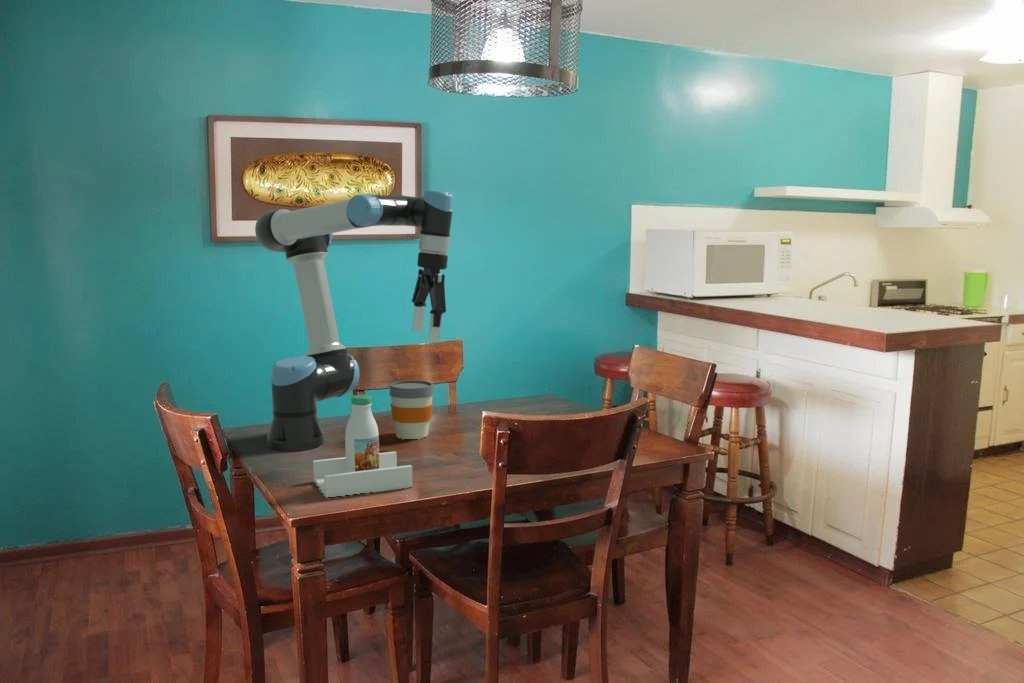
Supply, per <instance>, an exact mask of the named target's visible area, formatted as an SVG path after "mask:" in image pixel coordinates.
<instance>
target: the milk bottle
mask: <svg viewBox="0 0 1024 683" xmlns="http://www.w3.org/2000/svg"><path fill="white" fill-rule="evenodd" d="M350 399H351V400H350V403H351V407H352V410H351V414H350V417H349V419H348V421H347V423H346V427H345V435H344V436H345V440H344V441H345V442H344V443H345V444H344V446H345V448H344V450H345V451H344V452H345V456H344V457H346V473H348V472H356V471H365V470H373V469H379V451H380V438H379V437H380V436H379V434H380V433H379V428H378V424H377V421H376V420H375V417H374V415H373V412H372V409H371V406H372V396H371V395H369V394H355V395H352V396H351V398H350Z"/></svg>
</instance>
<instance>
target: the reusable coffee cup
mask: <svg viewBox="0 0 1024 683" xmlns="http://www.w3.org/2000/svg"><path fill="white" fill-rule="evenodd" d="M434 389H435V388H434V383H433V382H430V381H426V380H418V379H415V380H413V379H412V380H409V379H408V380H398V381H393V382H392V383H390V385H389V396H390V400H391V403H390V409H391V415H392V416H391V417H392V420H393V422H394V428H395V436H396V438H397V437H398V439H400V438H401V440H404V439H418V440H421V438H423V437H426V436H427V435H428V436H429V429H430V422H431V420H432V417H433V415H432V414H433V410H434V409H433V408H434V402H433V396H434V394H435V390H434ZM428 436H427V437H428ZM427 437H426V438H427ZM423 439H424V438H423Z"/></svg>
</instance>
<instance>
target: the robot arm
mask: <svg viewBox="0 0 1024 683" xmlns="http://www.w3.org/2000/svg"><path fill="white" fill-rule="evenodd" d="M453 212H454V195H453V194H452V193H451V192H448V191H441V190H433V189H432V190H430V189H425V190H424V192H423V196H422V197H417V196H409V195H403V194H400V195H399V194H394V195H393V194H391V195H387V194H386V195H379V194H370V193H362V194H356V195H353V196H352V197H351V198H349V199H343V200H339V201H338V200H337V201H334V202H329V203H325V204H319V205H313V206H310V207H309V206H308V207H305V208H300V209H285V208H281V209H271V210H267V211H266V212H264V213H262V214H261V215H260V216H259V217H258V219H257V220H256V222H255V228H254V229H255V237H256V240H257V241H258V242H259V244H261V246H262V247H264V248H265V249H267V250H268V251H271V252H274V253H276V252H277V253H285V257H286V261H287V262H288V263H290V264H291V265H292V267H293V271H294V276H295V281H296V286H297V292H298V295H299V296H298V297H299V302H300V306H301V312H302V316H303V321H304V326H305V333H306V337H307V343H308V347H309V348H308V350H307V351H306V353H305V355H300V356H299V355H298V356H294V357H292V356H291V357H287V358H284V359H283V358H282V359H281V360H278V361H276V362H275V363H274V364H273V365H272V368H271V377H270V382H271V396H272V397H271V399H272V419H271V423H270V427H269V430H268V432H267V433H268V434H267V437H266V446H267V447H268V448H270V449H272V450H276V451H282V452H283V451H285V452H287V451H289V452H290V451H291V452H295V451H305V450H310V449H311V450H312V449H314V448H315V449H316V448H317V447H320V446H322V445H324V443H325V435H324V431H323V427H322V426H321V423H320V420H319V417H318V413H317V411H318V410H317V408H318V407H317V403H318V402H321V401H326V400H329V399H334V398H338V397H339V398H341V397H343V396H344V395H347V394H350V393H351V392H353V391H354V390H355V389H356V386H357V385H358V382H359V379H360V367H359V364H358V361H357V360H356V359H355V358H354V356H352V355H350V354H348V350H347V346H345V345H344V344H342V343H341V341H340V337H339V332H338V327H337V322H336V321H337V320H336V317H335V312H334V306H333V301H332V296H331V290H330V285H329V281H328V276H327V275H328V274H327V270H326V266H325V259H326V257H328V254H329V252H328V248H329V247H330V246H331V244H332V242H331V241H332V240H333V238H334V237H333V236H334V235H333V234H334V233H341V232H344V231H345V232H347V231H350V230H357V229H365V228H369V227H377V226H378V227H379V226H380V227H381V226H385V227H386V226H388V227H389V226H393V227H394V226H395V227H396V226H397V227H398V226H403V227H404V226H406V227H417V228H419V230H420V233H419V240H418V250H420V251H419V252H418V253H417V264H416V265H417V267H419V269H418V273H417V278H416V283H415V286H414V289H413V290H414V291H413V294H412V299H411V302H412V303H413V306H414V308H413V318H412V332H424V322H425V313H426V312H425V311H426V310H425V309H426V306H427V302H426V301H427V298H428V296H429V299H430V306H431V310H430V311H429V314H430V316H429V317H430V318H429V324H428V326H429V327H428V337H427V339H428V340H430V341H440V337H441V330H442V328H441V326H442V318H443V314H445V313H446V312H447V306H446V304H447V303H446V291H445V280H446V279H445V278H446V277H445V276H446V274H445V273H440V271H441V270H446V269H447V268H448V260H449V257H448V255H447V254H446V253H448V252H449V247H450V246H449V245H451V244H452V242H451V240H450V236H451V234H450V233H451V227H452V226H451V225H452V218H453ZM421 268H422V269H421Z"/></svg>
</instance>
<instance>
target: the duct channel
mask: <svg viewBox="0 0 1024 683" xmlns="http://www.w3.org/2000/svg"><path fill="white" fill-rule="evenodd" d="M397 457H398V453H397V451H387V452H385V453H379V469H373V470H365V471H356V472H348V473H346V456H343V457H334V458H333V457H332V458H326V459H325V458H324V459H316V460H312V468H313V469H312V470H313V475H312V476H313V483H316V484H315V486H318V487H319V488H318V487H317V488H318V489H319V491H320V490H321V491H320V493H321V494H322V493H323V494H324V495H323V494H322V495H323V497H324V496H325V497H326V498H327V497H335V496H342V497H346V496H345V495H350V496H354V495H353V494H358V495H361V494H360V493H365V494H371V493H370V492H373V493H379V492H386V491H387V492H388V491H395V490H402V488H403V489H409V487H411V488H413V465H411V464H408V465H400V466H398V461H397V460H398V458H397ZM325 497H324V498H325ZM326 498H325V499H326ZM335 498H336V497H335ZM327 499H328V498H327Z"/></svg>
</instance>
